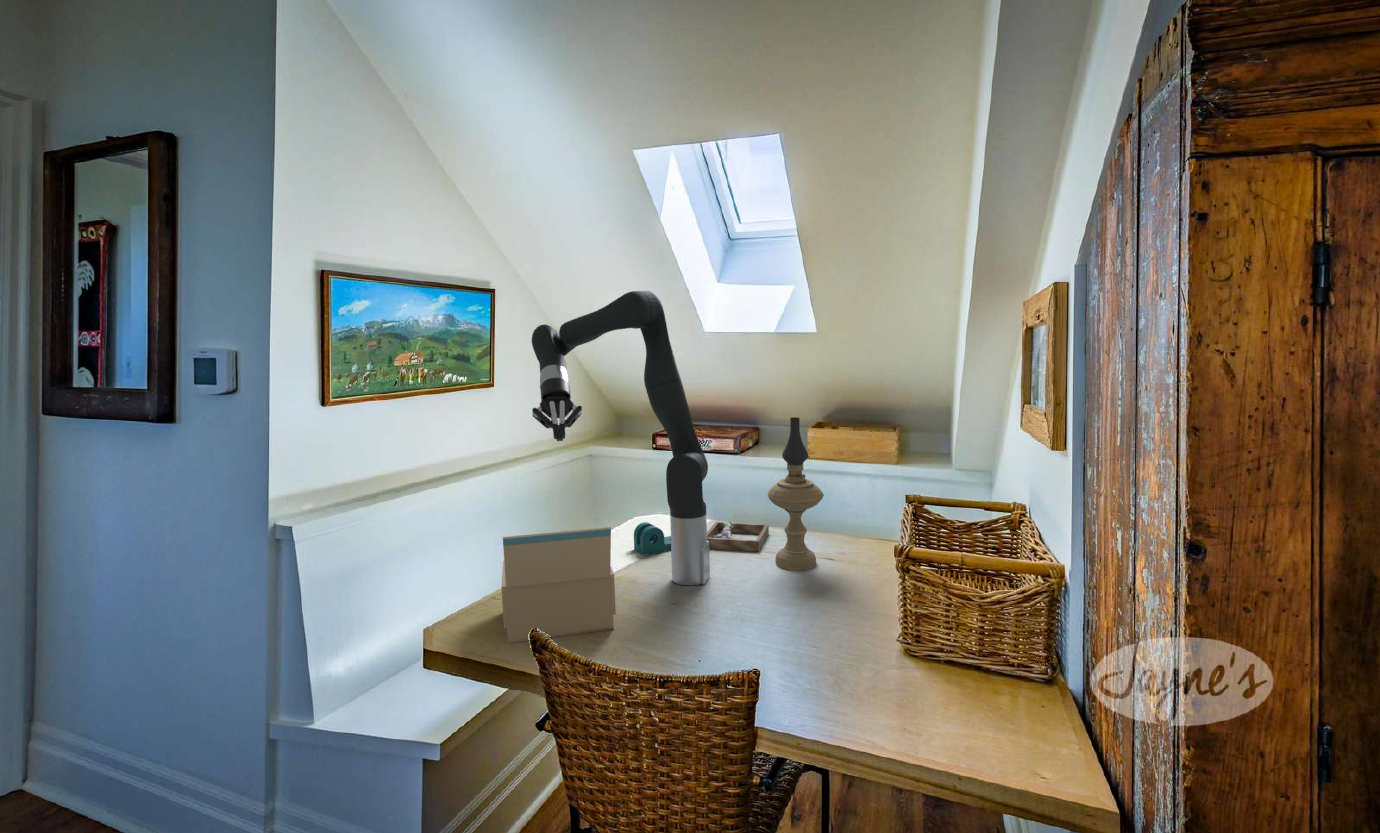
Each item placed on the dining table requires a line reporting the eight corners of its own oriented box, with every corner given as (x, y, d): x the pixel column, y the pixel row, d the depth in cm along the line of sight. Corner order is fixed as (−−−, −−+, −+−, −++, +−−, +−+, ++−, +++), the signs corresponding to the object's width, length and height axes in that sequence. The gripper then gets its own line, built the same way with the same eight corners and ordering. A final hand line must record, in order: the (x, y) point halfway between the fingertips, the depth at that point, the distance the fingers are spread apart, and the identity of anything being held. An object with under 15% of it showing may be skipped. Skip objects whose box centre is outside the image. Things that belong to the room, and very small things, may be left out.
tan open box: (506, 609, 156) (503, 559, 154) (605, 597, 161) (603, 549, 160) (504, 643, 138) (501, 587, 136) (616, 629, 143) (614, 575, 142)
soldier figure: (712, 548, 201) (709, 525, 211) (724, 557, 202) (720, 534, 213) (731, 532, 198) (726, 510, 209) (742, 541, 200) (737, 518, 211)
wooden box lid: (502, 537, 131) (502, 539, 130) (610, 527, 136) (610, 529, 136) (506, 585, 136) (506, 587, 136) (609, 574, 141) (610, 576, 141)
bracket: (643, 556, 192) (642, 529, 191) (634, 549, 198) (633, 524, 197) (698, 545, 201) (697, 520, 200) (687, 540, 207) (687, 515, 206)
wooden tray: (768, 533, 210) (768, 524, 210) (759, 551, 193) (758, 541, 193) (716, 530, 215) (716, 521, 215) (702, 547, 198) (701, 538, 197)
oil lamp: (789, 576, 172) (788, 422, 168) (757, 560, 186) (755, 417, 181) (835, 566, 179) (835, 418, 175) (801, 551, 192) (800, 413, 188)
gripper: (528, 377, 170) (532, 431, 160) (580, 375, 173) (587, 428, 163) (529, 396, 176) (532, 449, 165) (579, 394, 179) (586, 446, 169)
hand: (559, 438), depth 164 cm, fingers closed
